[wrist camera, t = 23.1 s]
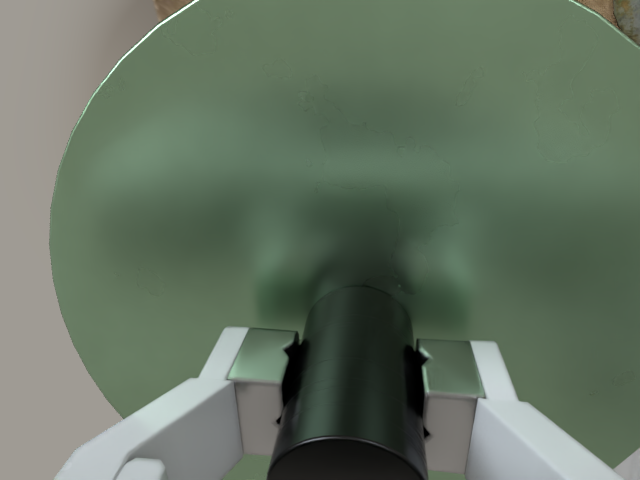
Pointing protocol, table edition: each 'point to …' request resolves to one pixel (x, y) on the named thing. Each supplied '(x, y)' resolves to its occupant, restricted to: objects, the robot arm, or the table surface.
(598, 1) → the table surface
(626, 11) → the soupspoon
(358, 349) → the pot lid
